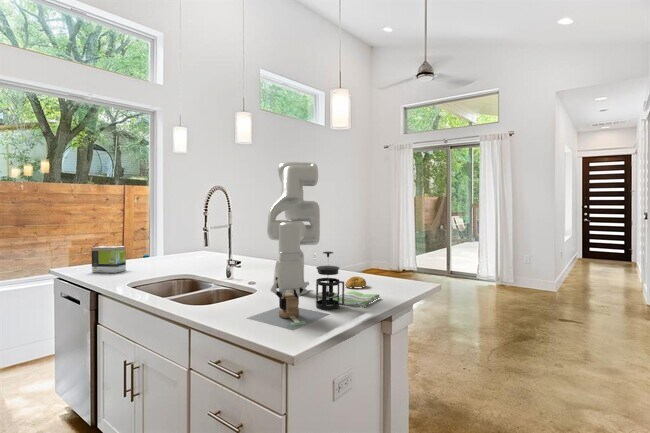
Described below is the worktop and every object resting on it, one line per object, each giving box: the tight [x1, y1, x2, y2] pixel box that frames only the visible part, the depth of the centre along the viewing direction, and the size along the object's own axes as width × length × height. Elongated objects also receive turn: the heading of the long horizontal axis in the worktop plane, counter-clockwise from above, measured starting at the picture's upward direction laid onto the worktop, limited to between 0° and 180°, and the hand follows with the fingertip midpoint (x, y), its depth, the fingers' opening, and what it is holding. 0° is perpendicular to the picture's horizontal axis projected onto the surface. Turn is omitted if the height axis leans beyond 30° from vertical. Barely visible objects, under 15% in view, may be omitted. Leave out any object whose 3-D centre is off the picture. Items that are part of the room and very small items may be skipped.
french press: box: [315, 251, 345, 311], centre depth 145 cm, size 12×9×23 cm
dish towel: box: [333, 290, 381, 309], centre depth 159 cm, size 17×23×4 cm
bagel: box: [344, 276, 367, 288], centre depth 187 cm, size 10×11×5 cm
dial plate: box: [246, 306, 330, 331], centre depth 134 cm, size 21×21×2 cm
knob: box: [279, 292, 300, 323], centre depth 131 cm, size 15×7×7 cm, turn 23°
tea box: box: [91, 245, 127, 274], centre depth 221 cm, size 15×10×15 cm, turn 84°
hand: (289, 307), depth 134 cm, fingers closed on knob, 4 cm apart
